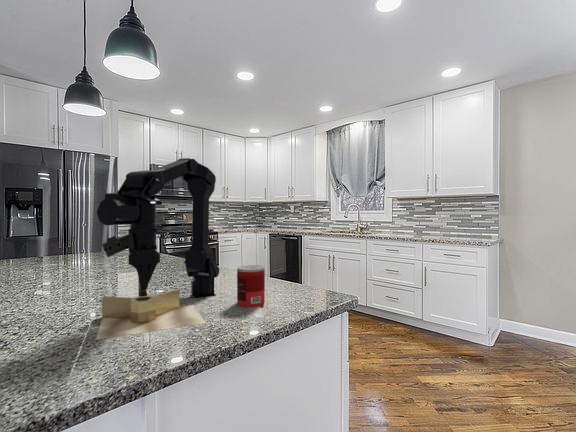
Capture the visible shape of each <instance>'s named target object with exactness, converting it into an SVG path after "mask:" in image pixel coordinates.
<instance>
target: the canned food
mask: <svg viewBox="0 0 576 432" xmlns="http://www.w3.org/2000/svg"><path fill="white" fill-rule="evenodd" d="M265 269H266V268H265V266H263V265H259V264H250V265H249V264H248V265H241V266H238V267H237V269H236V286H237V287H236V294H237V295H236V298H237V299H236V303H237V305H238V306H239V307H242V308H255V307H256V308H257V307H259V308H263V307H264V306H265V303H266V302H265V299H266V298H265V293H266V292H265V291H266V289H265V287H266V286H265V285H266V283H265V281H266V278H265V277H266V275H265V274H266V273H265V271H266V270H265Z"/></svg>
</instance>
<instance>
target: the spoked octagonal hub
mask: <svg viewBox="0 0 576 432" xmlns="http://www.w3.org/2000/svg"><path fill="white" fill-rule="evenodd" d="M101 300H102V301H101V302H102V303H101V305H102V306H101V307H102V308H101V309H102V310H101V311H102V313H101V314H102V315H101V316H102V317H101V319H102V318H117V319H131V323H137V324H140V323H147V322H151V321H153V320H155V319H156V316H157V315H160V314H163V313H166V312H169V311H172V310H175V309H178V308H179V307H180V289H179V288H176V289H173V290H169V291H165V292H162V293H158V294H154V295H148V296H143V297H140V296H136V297H127V296H126V297H125V296H124V297H123V296H102V297H101Z"/></svg>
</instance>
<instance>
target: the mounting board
mask: <svg viewBox="0 0 576 432" xmlns="http://www.w3.org/2000/svg"><path fill="white" fill-rule="evenodd" d="M100 321H101V322H100V324H99V328H98V332H97V335H96V338H95V340H97V341H98V340H102V339H103V340H105V339H111V338H116V337H123V336H131V335H135V334H143V333H149V332H155V331H156V332H157V331H164V330H169V329H176V328H184V327H191V326H195V325H202V324H207V322H206V321H205V319H204V318H203V316H202V315H201V313H200V312H199V311H198V309H197V307H196V306H195V304H190V305H184V306H183V305H182V306H181V305H180V306H179V308H178V309H175V310H172V311H169V312H166V313H163V314H160V315H157V316H156V319H155V320H153V321H151V322H147V323H140V324H137V323H131V319H117V318H102V317H101V320H100Z"/></svg>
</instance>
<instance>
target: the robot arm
mask: <svg viewBox="0 0 576 432" xmlns="http://www.w3.org/2000/svg"><path fill="white" fill-rule="evenodd" d="M180 177H181V180H182V181H183V182H184V183H186V185H187V191H188V193H189V194H190V196H191V197H192V216H191V217H192V218H191V219H192V224H191V225H192V227H191V228H192V229H191V233H192V236H191V246H190V247H189V249H187V250H185V252H184V264H185V265H184V266H185V271H186V273H187V277H189V278H191V277H192V280H191V281H190V294H191V296H192V297H193V298H194V299H201V298H202V299H203V298H208V297H216V296H217V295H216V293H215V278H217V277H219V275H220V270H221V269H220V267H219V266H218V265H217V263H216V261H215V258H214V257H215V256H214V252H213V249H212V248H211V246H210V245H209V228H210V227H209V225H210V224H209V222H210V218H209V217H210V216H209V215H210V214H209V213H210V198H211V196H212V195H213V193H214V191H215V187H216V182H217V181H216V179H217V178H216V175H215V173H214V172H212V170H210V168H209V167H207V166H205V165H203V164H201V163H199V162H198V161H197V160H196V159H195V158H192V157H188V158H186V157H185V158H184V157H183V158H178V159H177V160H176V161H173V162H169V163H167V164H165V165H162V166H160V167H157V168H154V169H149V170H138V171H131V172H128V173H127V174H126V175H125V179H124V182H123V183H122V185H121V186H120V188H119V189H118V191H117V192H116V193H115V192H113V193H112V192H111V193H110V192H108V193H107V192H106V193H105V194H104V199H103V200H101V201H100V203H99V204H98V207H97V210H96V215H97V219H98V220H99V222H100V223H101V224H102V225H104V226H122V225H123V226H124V225H129V229H128V232H127V233H128V234H125V235H122V236H118V237H117V236H115V235H113V236H110V237H108V238H107V240H106V241H105V242H102V244H101V246H102V248H103V251H104V253H105V256H106V257H107V258H110V257H112V256H114V255H115V254H118V253H120V252H121V253H122V252H124V251H126V250H128V265H130V266H131V267H133V268H134V269H135V270H136V272H137V277H138V278H139V282H140V287H141V290H146V289H147V287H148V288H149V283H150V282H151V280H152V276H153V275H154V273H155V271H156V268H157V266H158V264H160V263H161V253H160V252H159V251H157V249H158V245H157V232H158V228H157V206H162V205H163V203H162V201H161V200H160V199H159V198H158V197H157V195H158V194H159V193H161V192H162V191H163V190H164V189H165V186H166V184H168V183H170V182H172V181H175V180H177V179H178V178H180ZM138 278H137V279H138Z"/></svg>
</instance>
